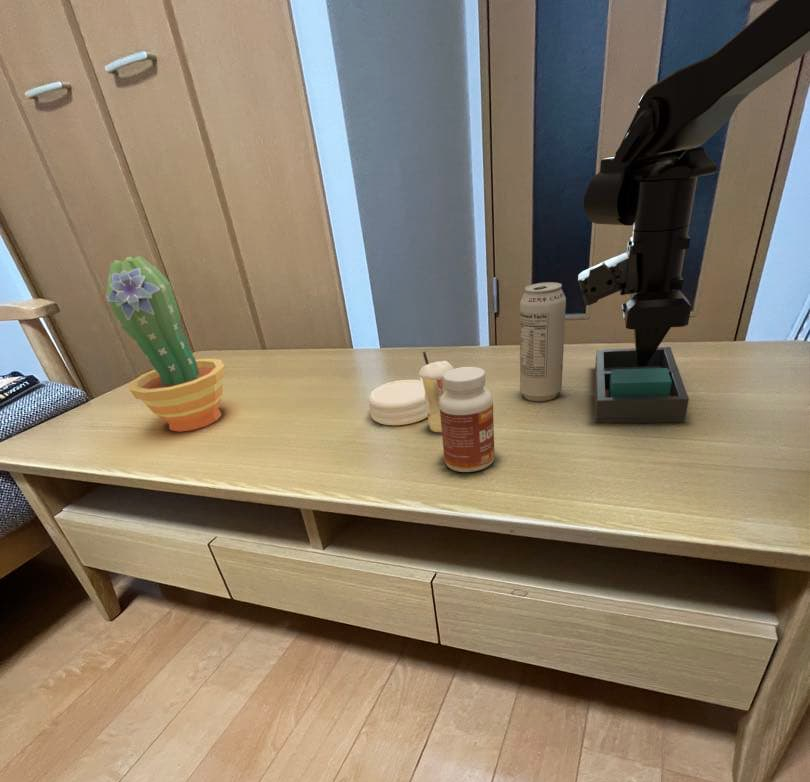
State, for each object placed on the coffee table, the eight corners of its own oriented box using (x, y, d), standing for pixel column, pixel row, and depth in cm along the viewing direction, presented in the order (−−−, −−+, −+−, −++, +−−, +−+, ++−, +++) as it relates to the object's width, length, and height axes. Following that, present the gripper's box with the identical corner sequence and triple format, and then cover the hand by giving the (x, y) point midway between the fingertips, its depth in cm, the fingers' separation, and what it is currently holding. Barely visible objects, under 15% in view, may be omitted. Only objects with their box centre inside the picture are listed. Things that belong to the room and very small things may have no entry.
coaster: (357, 419, 79) (353, 397, 77) (401, 396, 85) (398, 374, 83) (405, 432, 73) (401, 408, 71) (449, 406, 79) (447, 383, 77)
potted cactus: (129, 438, 86) (47, 272, 71) (189, 401, 97) (129, 251, 82) (202, 442, 80) (131, 263, 65) (257, 402, 91) (206, 242, 77)
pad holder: (594, 369, 83) (596, 350, 81) (666, 367, 80) (670, 346, 78) (595, 423, 68) (597, 400, 66) (684, 422, 65) (689, 398, 63)
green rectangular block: (663, 393, 70) (667, 367, 68) (667, 408, 67) (671, 381, 65) (608, 394, 73) (611, 369, 70) (609, 408, 69) (612, 383, 67)
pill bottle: (490, 475, 61) (486, 383, 54) (439, 473, 63) (429, 384, 56) (498, 450, 65) (496, 363, 59) (451, 449, 67) (443, 364, 61)
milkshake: (444, 416, 76) (438, 347, 70) (463, 428, 72) (458, 355, 66) (417, 425, 75) (408, 355, 69) (435, 437, 70) (427, 365, 65)
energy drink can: (570, 394, 76) (576, 284, 67) (536, 406, 74) (538, 294, 66) (544, 384, 81) (546, 279, 72) (512, 394, 79) (510, 288, 70)
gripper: (585, 224, 67) (577, 346, 76) (583, 249, 53) (574, 395, 62) (680, 213, 64) (660, 342, 73) (705, 237, 50) (676, 393, 59)
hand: (641, 365), depth 67 cm, fingers closed
